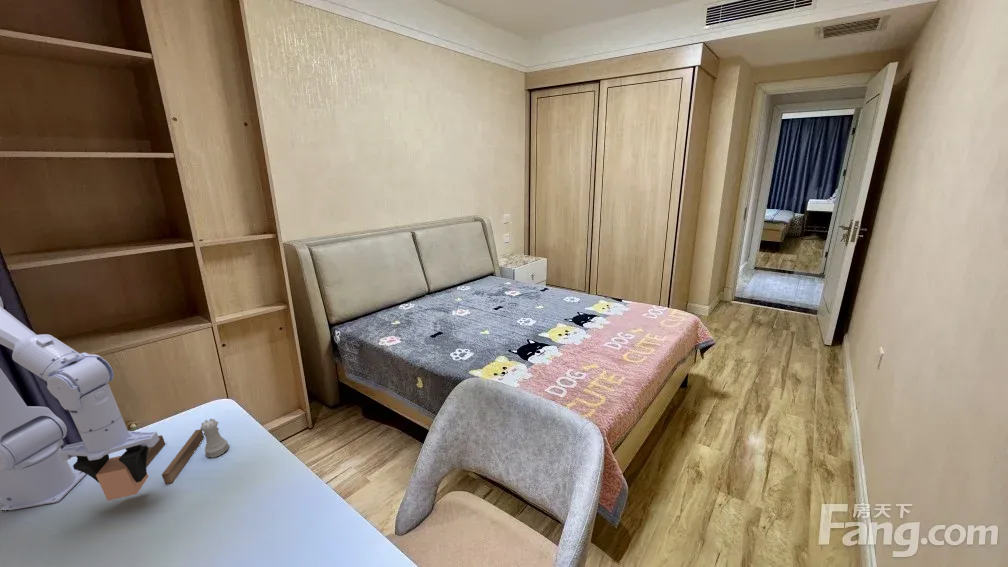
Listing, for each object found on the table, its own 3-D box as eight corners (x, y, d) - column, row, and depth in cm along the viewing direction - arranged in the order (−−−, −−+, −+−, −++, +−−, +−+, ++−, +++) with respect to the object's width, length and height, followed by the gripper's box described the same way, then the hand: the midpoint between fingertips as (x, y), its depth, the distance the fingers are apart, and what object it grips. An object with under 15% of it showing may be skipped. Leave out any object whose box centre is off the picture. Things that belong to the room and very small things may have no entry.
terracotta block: (107, 500, 75) (95, 475, 73) (121, 482, 79) (110, 458, 77) (136, 494, 76) (125, 468, 74) (148, 476, 80) (138, 452, 79)
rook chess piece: (220, 458, 89) (210, 428, 87) (201, 458, 90) (190, 429, 87) (233, 444, 94) (224, 415, 91) (215, 444, 94) (205, 415, 91)
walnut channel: (119, 492, 81) (115, 482, 81) (159, 444, 94) (156, 436, 94) (172, 483, 83) (168, 473, 82) (204, 437, 96) (201, 429, 95)
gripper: (32, 443, 68) (64, 505, 72) (131, 429, 71) (156, 489, 75) (66, 417, 74) (93, 475, 79) (155, 405, 77) (177, 462, 82)
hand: (125, 480), depth 77 cm, fingers closed on terracotta block, 5 cm apart
